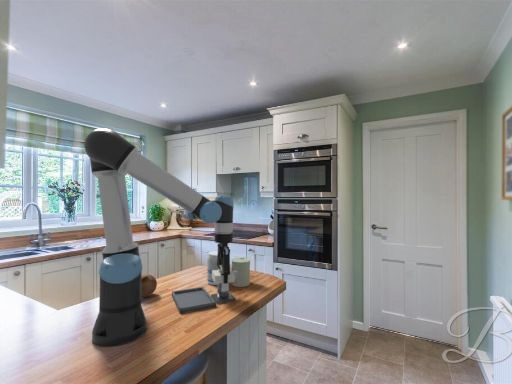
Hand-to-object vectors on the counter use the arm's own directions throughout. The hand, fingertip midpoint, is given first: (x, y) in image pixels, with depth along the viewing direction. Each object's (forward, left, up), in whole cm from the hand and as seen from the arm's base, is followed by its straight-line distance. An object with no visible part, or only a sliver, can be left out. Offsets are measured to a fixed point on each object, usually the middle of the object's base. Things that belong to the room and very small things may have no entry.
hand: (222, 287), depth 110 cm
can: (+14, +14, -5) cm, 21 cm away
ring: (0, 0, +3) cm, 3 cm away
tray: (-12, +3, -5) cm, 13 cm away
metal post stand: (0, 0, -5) cm, 5 cm away
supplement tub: (+4, +20, -5) cm, 21 cm away
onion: (-29, +17, -5) cm, 34 cm away
